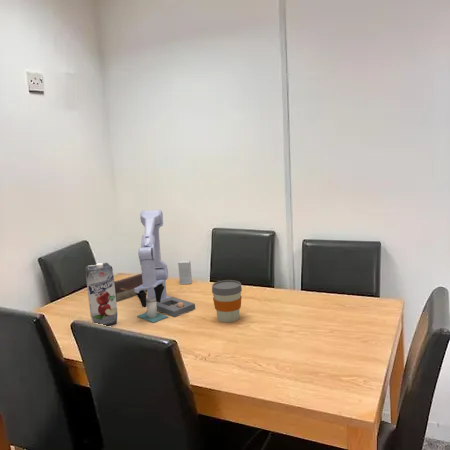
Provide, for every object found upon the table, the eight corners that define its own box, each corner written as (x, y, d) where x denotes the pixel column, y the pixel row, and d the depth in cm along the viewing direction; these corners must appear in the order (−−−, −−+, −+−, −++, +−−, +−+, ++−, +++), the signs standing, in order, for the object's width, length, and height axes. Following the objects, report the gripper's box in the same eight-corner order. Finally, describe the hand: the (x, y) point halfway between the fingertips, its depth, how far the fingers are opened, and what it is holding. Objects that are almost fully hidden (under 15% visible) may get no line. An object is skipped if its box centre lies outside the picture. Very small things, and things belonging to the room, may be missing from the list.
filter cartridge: (145, 316, 205) (143, 299, 203) (153, 313, 208) (151, 296, 207) (151, 318, 202) (149, 301, 200) (159, 315, 205) (158, 298, 203)
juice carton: (90, 322, 202) (83, 262, 198) (114, 317, 207) (108, 258, 202) (94, 329, 195) (87, 267, 190) (119, 324, 199) (113, 262, 194)
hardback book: (142, 281, 261) (142, 272, 260) (164, 287, 248) (163, 278, 247) (96, 295, 240) (95, 286, 239) (117, 303, 227) (116, 293, 227)
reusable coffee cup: (223, 311, 207) (221, 278, 205) (248, 315, 201) (246, 281, 198) (208, 321, 197) (205, 287, 194) (234, 326, 190) (232, 290, 188)
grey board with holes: (152, 309, 215) (152, 303, 214) (172, 301, 223) (172, 296, 223) (174, 317, 204) (174, 311, 203) (195, 308, 212) (194, 303, 212)
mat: (136, 316, 206) (136, 315, 206) (151, 311, 212) (151, 310, 212) (153, 323, 198) (153, 322, 198) (168, 317, 204) (168, 316, 204)
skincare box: (192, 281, 253) (190, 260, 251) (190, 284, 249) (189, 262, 246) (181, 282, 253) (179, 260, 251) (179, 284, 249) (177, 262, 247)
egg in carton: (176, 310, 210) (176, 303, 209) (181, 309, 212) (180, 301, 211) (180, 311, 208) (179, 304, 208) (184, 310, 210) (183, 302, 209)
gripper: (140, 280, 194) (143, 311, 196) (167, 271, 204) (170, 301, 206) (130, 277, 199) (133, 307, 201) (157, 269, 209) (160, 298, 211)
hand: (151, 304), depth 204 cm, fingers open, 7 cm apart
